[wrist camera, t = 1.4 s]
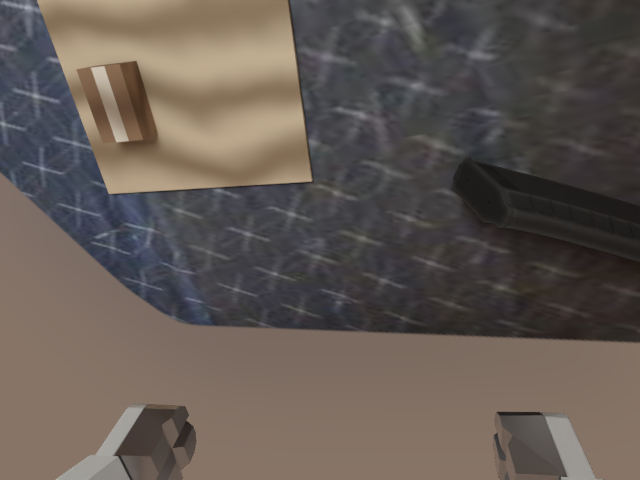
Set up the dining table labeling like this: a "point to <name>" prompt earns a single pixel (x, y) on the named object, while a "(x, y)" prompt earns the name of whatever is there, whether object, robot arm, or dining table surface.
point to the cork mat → (192, 89)
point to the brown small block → (118, 101)
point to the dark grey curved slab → (549, 209)
